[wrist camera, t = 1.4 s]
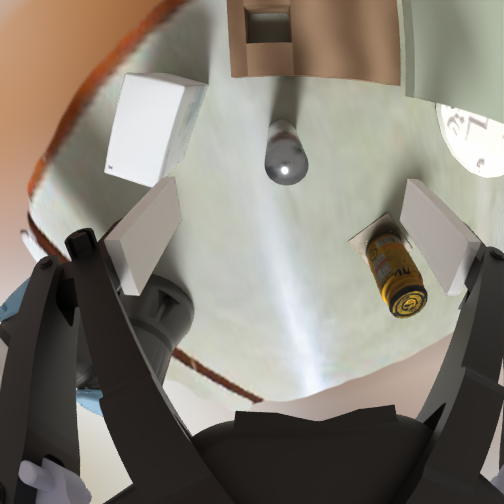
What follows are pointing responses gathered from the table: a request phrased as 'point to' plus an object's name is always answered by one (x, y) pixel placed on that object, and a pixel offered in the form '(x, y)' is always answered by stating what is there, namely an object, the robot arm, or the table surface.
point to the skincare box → (152, 125)
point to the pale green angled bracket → (456, 54)
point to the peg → (285, 154)
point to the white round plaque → (473, 140)
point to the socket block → (320, 40)
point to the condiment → (392, 266)
